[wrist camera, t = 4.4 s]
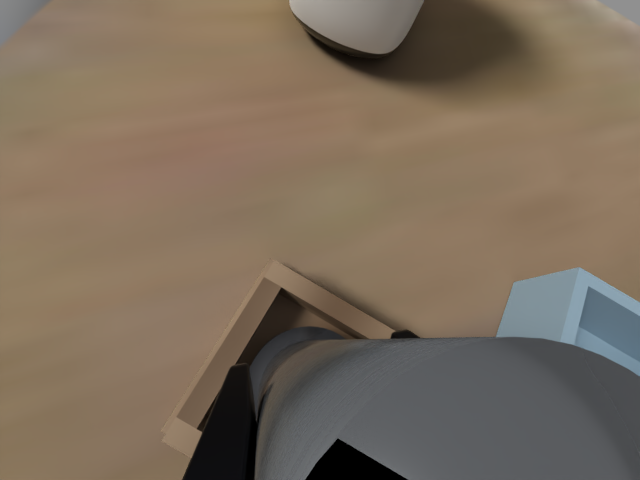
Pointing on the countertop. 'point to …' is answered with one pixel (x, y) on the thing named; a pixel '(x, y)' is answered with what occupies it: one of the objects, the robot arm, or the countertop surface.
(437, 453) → the grey rounded cylinder
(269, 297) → the socket block
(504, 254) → the countertop surface
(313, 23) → the spread jar
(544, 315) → the bin
